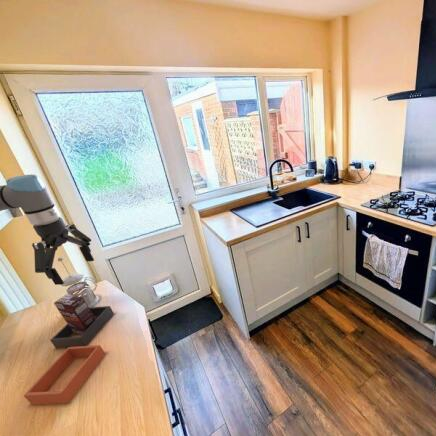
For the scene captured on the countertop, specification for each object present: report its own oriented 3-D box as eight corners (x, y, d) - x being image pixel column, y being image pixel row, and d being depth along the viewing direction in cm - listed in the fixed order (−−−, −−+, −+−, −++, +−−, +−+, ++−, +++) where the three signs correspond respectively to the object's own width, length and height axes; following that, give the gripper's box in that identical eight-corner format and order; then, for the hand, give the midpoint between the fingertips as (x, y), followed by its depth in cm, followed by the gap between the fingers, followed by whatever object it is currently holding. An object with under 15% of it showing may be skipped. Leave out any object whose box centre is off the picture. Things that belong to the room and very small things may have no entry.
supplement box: (72, 333, 96) (52, 303, 89) (84, 323, 100) (66, 293, 94) (89, 336, 94) (69, 305, 87) (101, 326, 98) (83, 295, 91)
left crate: (31, 404, 72) (23, 395, 71) (74, 355, 87) (68, 347, 85) (68, 402, 72) (61, 393, 70) (105, 353, 86) (100, 345, 84)
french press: (76, 301, 114) (48, 256, 104) (105, 291, 118) (81, 247, 108) (70, 315, 106) (39, 267, 95) (101, 304, 110) (76, 257, 100)
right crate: (56, 348, 90) (49, 340, 88) (88, 315, 104) (83, 307, 103) (86, 346, 90) (80, 338, 88) (114, 313, 104) (109, 305, 102)
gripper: (18, 239, 71) (54, 295, 80) (87, 205, 93) (109, 252, 103) (-6, 240, 72) (33, 295, 81) (68, 206, 94) (92, 252, 103)
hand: (76, 271), depth 92 cm, fingers open, 13 cm apart
